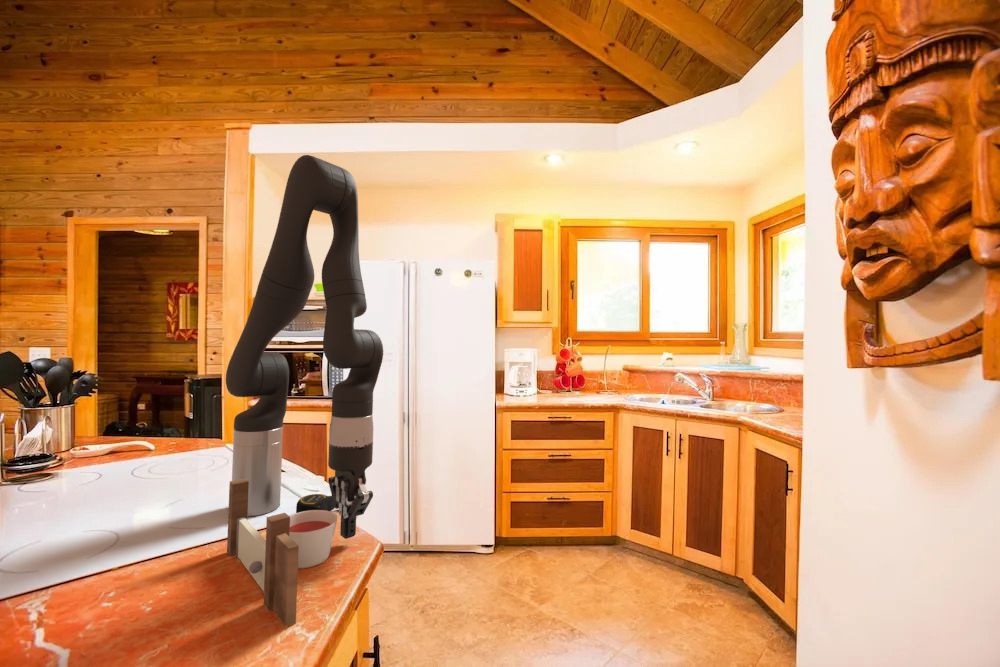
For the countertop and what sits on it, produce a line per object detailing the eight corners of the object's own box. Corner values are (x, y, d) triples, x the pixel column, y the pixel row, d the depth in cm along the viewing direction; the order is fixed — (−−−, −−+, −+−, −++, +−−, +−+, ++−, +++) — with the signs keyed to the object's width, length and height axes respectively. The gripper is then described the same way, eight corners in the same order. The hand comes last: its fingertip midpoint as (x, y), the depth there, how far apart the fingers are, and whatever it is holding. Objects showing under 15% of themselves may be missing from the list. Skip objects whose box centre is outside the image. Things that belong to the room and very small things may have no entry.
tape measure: (320, 525, 85) (320, 506, 85) (288, 522, 86) (289, 503, 86) (337, 511, 92) (338, 494, 92) (308, 508, 93) (308, 491, 93)
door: (225, 557, 71) (226, 520, 71) (242, 552, 73) (244, 515, 73) (253, 599, 60) (255, 554, 60) (273, 592, 62) (275, 548, 62)
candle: (277, 578, 66) (279, 537, 66) (276, 552, 74) (277, 515, 74) (339, 565, 70) (341, 526, 71) (332, 541, 78) (333, 506, 78)
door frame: (226, 551, 73) (229, 481, 74) (242, 547, 75) (245, 478, 75) (281, 629, 55) (284, 534, 55) (300, 620, 56) (303, 528, 57)
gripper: (315, 436, 80) (311, 530, 79) (348, 450, 70) (345, 557, 70) (353, 430, 85) (350, 519, 85) (389, 443, 76) (385, 542, 75)
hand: (348, 536), depth 77 cm, fingers closed
